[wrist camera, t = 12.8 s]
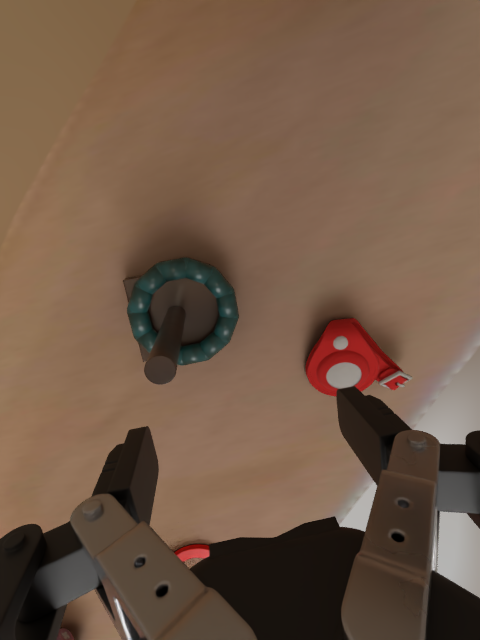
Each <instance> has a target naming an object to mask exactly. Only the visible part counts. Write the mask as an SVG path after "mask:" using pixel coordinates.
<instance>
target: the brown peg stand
mask: <svg viewBox="0 0 480 640" xmlns="http://www.w3.org/2000/svg"><path fill="white" fill-rule="evenodd" d="M208 265H210V264H208ZM140 277H141V276H137V277H131V278H126V279H124V280H123V282H124V286H125V290H126V294H127V298H128V302H129V301H130V297H131V294H132V290H133V287H134V284H135V282H136V281H137V280H138V279H139V278H140ZM148 313H149V317H150V320H151V324H152V328H153V329H154V330H155V331H156V332H157V333H158V335H157V337H156V340H155V342H154V345H153V347H152V349H151V352H150V353H149V352H148V351H147V350H146V349H145V348H144V347H143V346H142V345H141V344H140V343H139V342H138V343H139V347H140V351H141V355H142V359H143V362H145V361H147V362H146V364H145V367H144V372H145V375H146V377H147V378H148V380H149V381H151V382H152V383H155V384H166V383H168V382H170V381H171V380H172V379H173V378H174V377H175V375H176V370H177V364H178V358H179V352H180V346H186V345H191V344H196V343H200V342H201V341H203V340H204V339H205V338H206V337H207V336H208V335H210V334H211V333H212V332H213V331H214V329H215V326H216V323H217V320H218V317H219V311H218V306H217V301H216V297H215V296H214V295H213V294H212V293H211V292H210V291H209V290H208V288H207V287H206V286H205V285H204V284H202V283H199V282H196V281H193V280H190V279H187V278H183V279H178V280H173V281H168V282H166V283H165V284H164V285H163V286H162V287H160V288H159V289H158V290H157V291H156V292H155V293H154V294H153V296H152V300H151V303H150V306H149V309H148Z"/></svg>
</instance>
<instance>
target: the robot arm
mask: <svg viewBox="0 0 480 640" xmlns="http://www.w3.org/2000/svg"><path fill="white" fill-rule="evenodd" d="M336 397H337V408H338V419H339V426H340V429H341V432H342V435H343V436H344V438H345V439H346V441H347V442H348V444H349V445H350V447H351V448H352V450H353V451H354V453H355V454H356V455H357V457H358V458H359V460H360V461H361V463H362V464H363V466H364V467H365V469H366V470H367V471H368V473H369V474H370V476H371V477H372V479H373V480H374V482H375V483H376V485H377V490H376V494H375V497H374V501H373V505H372V508H371V512H370V516H369V520H368V523H367V527H366V531H365V532H364V531H361V530H357V529H353V528H347V527H339V524H338V522H337V520H336V518H335V517H331V518H326V519H322V520H317V521H312V522H308V523H304V524H302V525H300V526H298V527H296V528H294V529H292V530H290V531H288V532H286V533H284V534H281V535H279V536H277V537H274V538H245V537H240V538H236V539H231V540H227V541H222V542H218V543H213V544H209V557H207V558H205V559H203V560H201V561H200V562H198V563H197V564H196V565H194V566H193V567H192V568H191V569H189V568H188V567H187V566H186V565H185V564H184V563H183V562H182V561H181V559H180V558H179V557H178V556H177V555H176V554H175V553H174V552H173V551H172V550H171V549H170V548H169V546H168V545H167V544H166V543H165V542H164V541H163V540H162V539H161V538H160V537H159V536H158V535H157V533H156V532H155V531H154V530H153V529H152V528H151V527H150V526H149V525H150V519H151V513H152V508H153V502H154V496H155V490H156V485H157V479H158V472H159V468H158V459H157V455H156V451H155V447H154V444H153V440H152V436H151V432H150V429H149V427H148V426H146V427H141V428H136V429H131V430H129V432H128V434H127V437H126V440H125V443H124V444H119V445H117V446H116V447H115V448H114V449H113V450H112V451H111V452H110V453H109V455H108V457H107V460H106V462H105V465H104V467H103V470H102V473H101V474H100V477H99V479H98V482H97V484H96V487H95V489H94V491H93V494H92V496H91V497H90V498H88V499H86V500H85V501H83V502H82V503H81V504H80V505H78V506H77V507H76V509H75V510H74V511H73V513H72V515H71V517H70V521H69V522H68V523H66V524H64V525H61V526H59V527H57V528H55V529H52V530H50V531H48V532H46V533H44V534H43V532H42V529H41V527H40V526H39V525H36V524H28V525H24V526H21V527H18V528H16V529H14V530H12V531H11V532H9V533H8V534H6V535H5V536H4V537H2V538H1V539H0V640H56V639H57V636H58V633H59V629H60V626H61V623H62V619H63V616H64V613H65V610H66V606H67V603H69V602H71V601H73V600H74V599H76V598H78V597H80V596H82V595H84V594H86V593H88V592H90V591H91V590H93V589H95V592H96V594H97V595H98V597H99V599H100V601H101V602H102V604H103V606H104V608H105V610H106V611H107V613H108V615H109V617H110V618H111V620H112V622H113V624H114V626H115V627H116V629H117V631H118V633H119V635H120V637H121V639H122V640H480V598H479V597H477V596H475V595H474V594H472V593H471V592H469V591H467V590H466V589H464V588H462V587H460V586H459V585H457V584H455V583H454V582H452V581H450V580H449V579H447V578H445V577H444V576H442V575H440V574H439V573H437V561H438V541H439V521H440V511H443V512H459V513H467V514H468V515H469V517H470V518H471V519H472V520H473V521H474V523H475V524H476V525H477V526H478V527H479V528H480V431H474V432H471V433H469V434H468V435H467V436H466V445H462V444H440V443H439V441H438V440H437V439H436V438H435V437H434V436H432V435H431V434H428V433H426V432H423V431H418V430H412V429H411V428H410V427H409V426H408V425H407V424H406V423H405V422H403V421H402V420H401V419H400V418H399V417H398V416H397V415H396V414H394V412H393V411H392V410H391V409H390V408H388V406H387V405H386V404H385V403H383V402H382V401H381V400H380V399H378V398H376V397H373V396H371V395H367V396H364V395H363V394H362V393H361V392H360V391H359V390H358V389H357V388H356V387H355V386H352V387H347V388H342V389H337V392H336Z"/></svg>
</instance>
